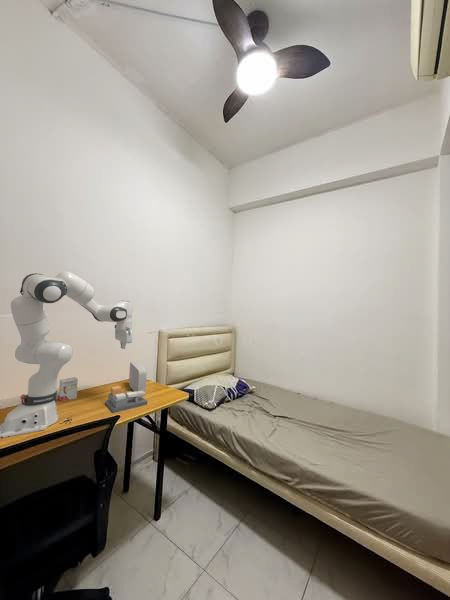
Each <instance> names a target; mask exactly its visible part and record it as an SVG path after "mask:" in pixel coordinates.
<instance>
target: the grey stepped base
mask: <svg viewBox="0 0 450 600" xmlns="http://www.w3.org/2000/svg"><path fill="white" fill-rule="evenodd" d="M104 403H105V405H106V407H107V408H108V409H109V410H110V411H111V412H112V413H113V414H115V413H119V412H123V411H127V410H131V409H135V408H139V407H143V406H148V400H147V399H146V398H144V397H143V396H136V397H130V398H127V397H126V398H125V399H120V400H116V399H115V396H112V395H111V392H109V393H108V397H107V400H105V402H104Z"/></svg>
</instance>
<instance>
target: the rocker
mask: <svg viewBox="0 0 450 600" xmlns="http://www.w3.org/2000/svg"><path fill="white" fill-rule="evenodd" d="M125 395H126V396H127V397H128V398H129V397H136V396H141V397H143V396H145V395H146V393H145V392H144V391H136V392H134V391H132V392H128V393H126V392H125Z"/></svg>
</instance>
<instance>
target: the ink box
mask: <svg viewBox="0 0 450 600" xmlns="http://www.w3.org/2000/svg"><path fill="white" fill-rule="evenodd" d="M77 396H78V378H77V377H75V376H74V377H67V378H62V379H60V380H59V388H58V397H57V400H59V402H65V401H70V400H73V399H77Z"/></svg>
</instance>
